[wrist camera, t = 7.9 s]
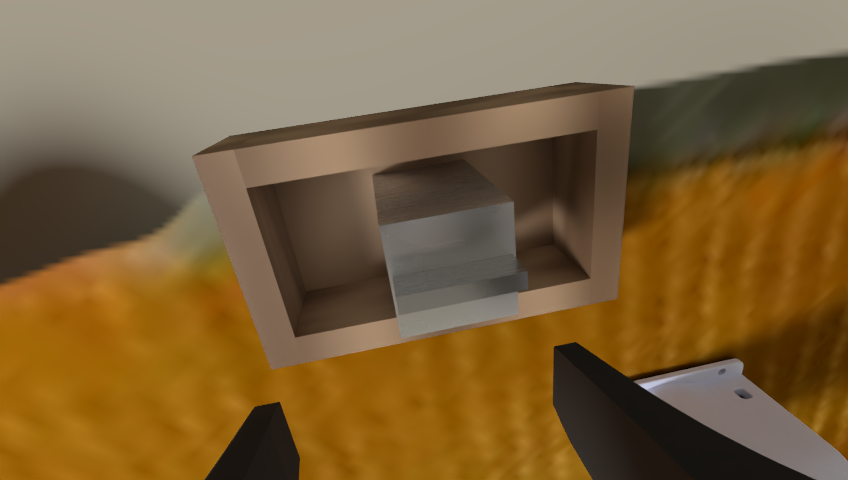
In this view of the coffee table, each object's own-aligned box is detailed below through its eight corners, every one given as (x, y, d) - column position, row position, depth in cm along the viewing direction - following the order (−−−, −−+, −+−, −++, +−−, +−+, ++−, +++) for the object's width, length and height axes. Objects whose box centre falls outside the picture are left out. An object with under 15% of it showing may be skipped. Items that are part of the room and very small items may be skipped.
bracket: (464, 159, 17) (529, 215, 11) (472, 242, 19) (533, 335, 12) (372, 175, 17) (380, 242, 10) (388, 259, 19) (404, 363, 12)
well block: (575, 82, 17) (634, 86, 13) (571, 258, 21) (617, 298, 17) (229, 136, 16) (191, 155, 12) (287, 313, 19) (271, 369, 16)
